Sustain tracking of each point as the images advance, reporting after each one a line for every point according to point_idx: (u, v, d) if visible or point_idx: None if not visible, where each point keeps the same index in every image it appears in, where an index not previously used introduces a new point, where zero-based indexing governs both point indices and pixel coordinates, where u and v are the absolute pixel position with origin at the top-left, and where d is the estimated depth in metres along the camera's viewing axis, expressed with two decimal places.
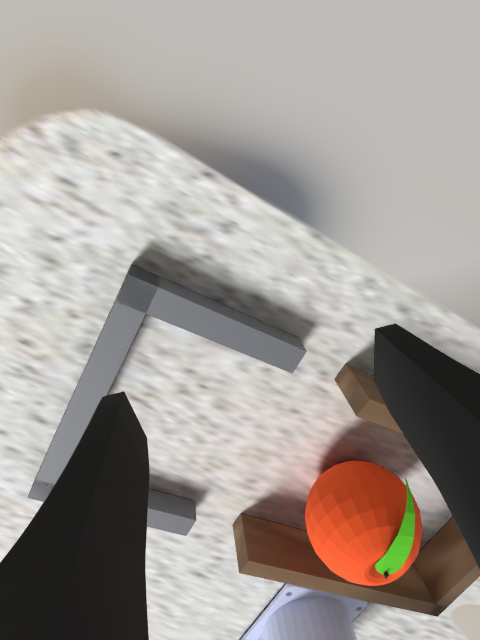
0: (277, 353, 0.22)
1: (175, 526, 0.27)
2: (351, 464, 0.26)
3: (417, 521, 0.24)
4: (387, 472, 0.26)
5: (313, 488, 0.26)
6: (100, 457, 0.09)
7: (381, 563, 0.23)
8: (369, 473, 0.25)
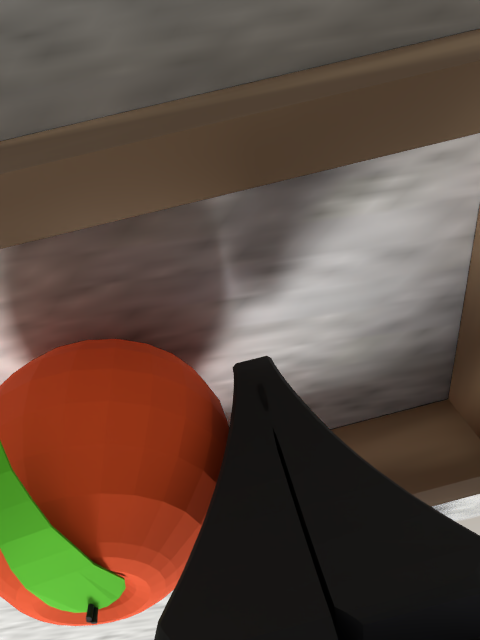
0: None
1: None
2: None
3: (113, 452, 0.08)
4: (57, 358, 0.10)
5: None
6: (266, 415, 0.09)
7: (53, 602, 0.08)
8: (0, 391, 0.10)
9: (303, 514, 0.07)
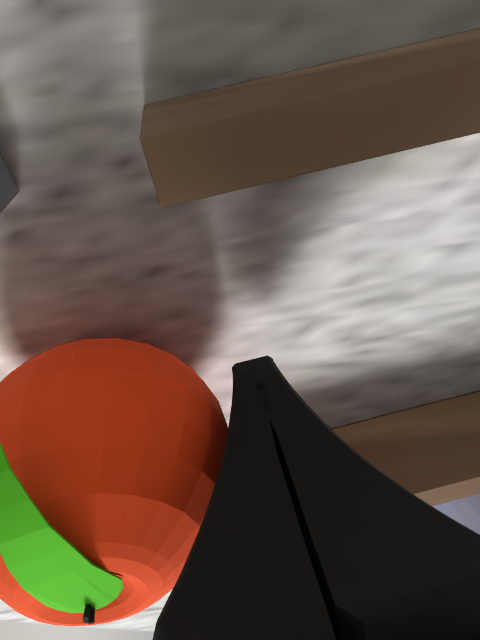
0: None
1: None
2: None
3: (112, 451, 0.08)
4: (56, 357, 0.10)
5: None
6: (265, 415, 0.09)
7: (49, 602, 0.08)
8: None
9: (304, 514, 0.07)
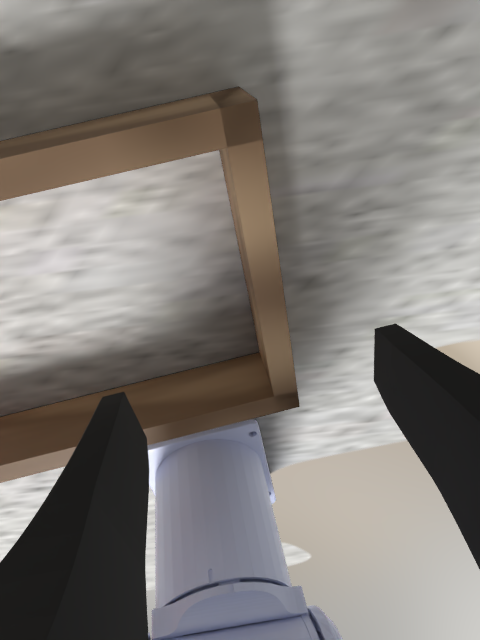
0: None
1: None
2: None
3: None
4: None
5: None
6: (100, 457, 0.09)
7: None
8: None
9: None
